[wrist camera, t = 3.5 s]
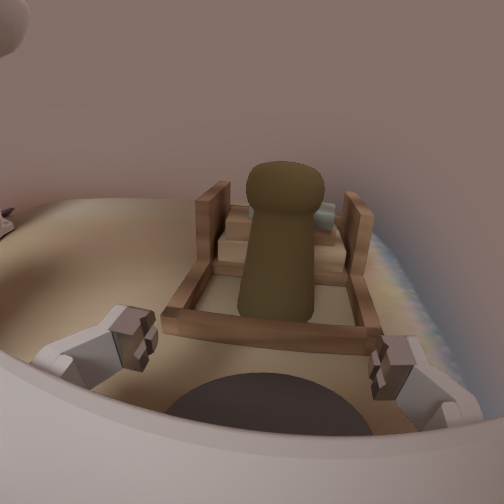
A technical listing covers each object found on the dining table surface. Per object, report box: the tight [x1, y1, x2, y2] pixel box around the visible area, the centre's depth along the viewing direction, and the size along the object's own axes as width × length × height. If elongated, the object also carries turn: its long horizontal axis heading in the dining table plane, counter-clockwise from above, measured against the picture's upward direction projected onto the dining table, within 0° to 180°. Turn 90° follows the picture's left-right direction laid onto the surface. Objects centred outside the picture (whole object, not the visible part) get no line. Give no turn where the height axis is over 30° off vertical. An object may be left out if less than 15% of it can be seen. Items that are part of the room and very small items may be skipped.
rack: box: [160, 181, 384, 355], centre depth 26 cm, size 18×15×7 cm
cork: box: [237, 161, 325, 323], centre depth 21 cm, size 6×6×11 cm
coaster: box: [165, 373, 373, 436], centre depth 12 cm, size 11×11×1 cm
